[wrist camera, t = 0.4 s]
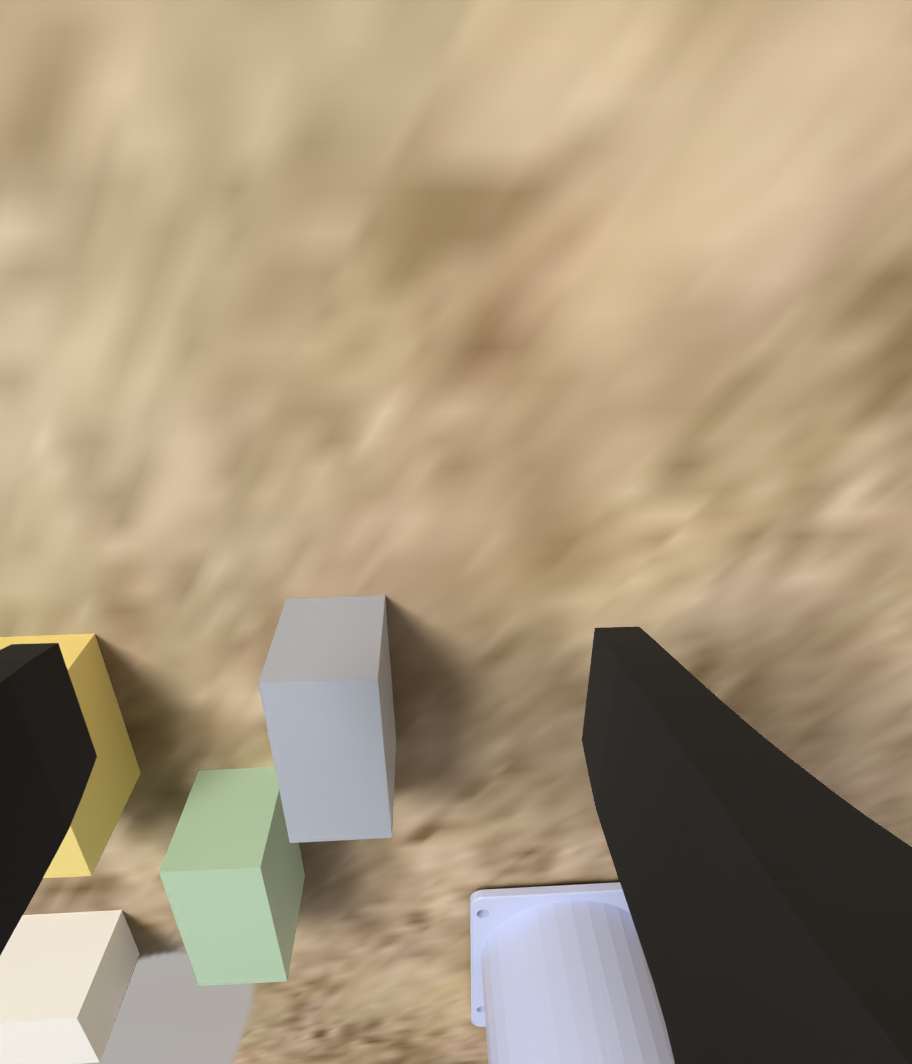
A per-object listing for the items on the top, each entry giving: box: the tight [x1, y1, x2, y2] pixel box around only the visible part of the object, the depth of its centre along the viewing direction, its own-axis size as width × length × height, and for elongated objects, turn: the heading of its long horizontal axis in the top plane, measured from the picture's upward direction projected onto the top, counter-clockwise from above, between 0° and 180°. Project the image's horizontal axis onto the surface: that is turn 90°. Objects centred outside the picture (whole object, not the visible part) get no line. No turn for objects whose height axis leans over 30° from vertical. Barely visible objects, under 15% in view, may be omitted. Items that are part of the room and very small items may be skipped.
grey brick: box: [258, 595, 396, 843], centre depth 20 cm, size 6×3×4 cm, turn 1°
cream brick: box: [0, 910, 140, 1064], centre depth 25 cm, size 6×3×4 cm, turn 91°
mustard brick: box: [0, 634, 141, 878], centre depth 20 cm, size 6×3×4 cm, turn 1°
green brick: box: [159, 767, 305, 986], centre depth 23 cm, size 6×3×4 cm, turn 1°
